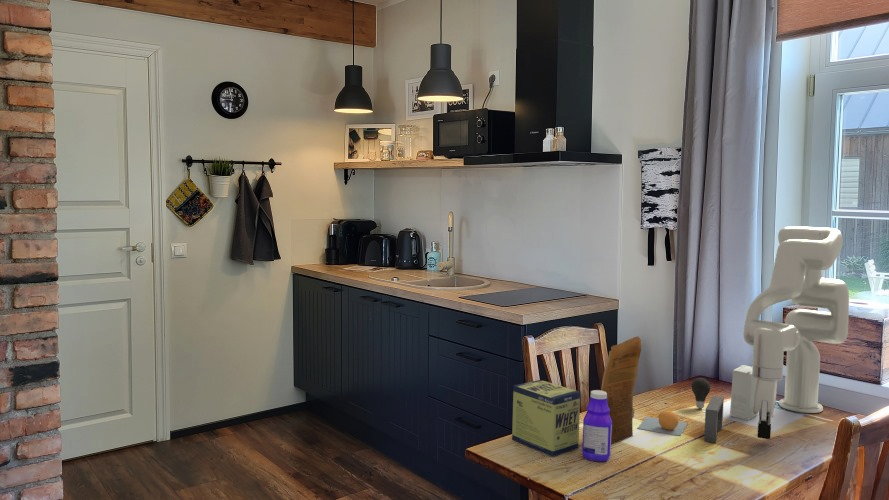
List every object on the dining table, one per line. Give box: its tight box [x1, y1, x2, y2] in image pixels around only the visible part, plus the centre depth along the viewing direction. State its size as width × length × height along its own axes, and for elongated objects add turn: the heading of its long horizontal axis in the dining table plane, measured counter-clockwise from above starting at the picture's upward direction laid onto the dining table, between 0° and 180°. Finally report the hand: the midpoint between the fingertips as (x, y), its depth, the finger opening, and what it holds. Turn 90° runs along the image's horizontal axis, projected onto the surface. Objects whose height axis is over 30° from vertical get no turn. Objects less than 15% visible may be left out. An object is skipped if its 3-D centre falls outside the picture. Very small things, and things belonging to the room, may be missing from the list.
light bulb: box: [691, 377, 711, 410], centre depth 222 cm, size 6×6×10 cm
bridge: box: [703, 395, 725, 444], centre depth 198 cm, size 3×14×9 cm, turn 152°
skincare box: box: [729, 364, 758, 421], centre depth 216 cm, size 8×6×15 cm
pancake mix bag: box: [600, 335, 642, 445], centre depth 194 cm, size 7×19×28 cm, turn 133°
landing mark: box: [636, 416, 688, 437], centre depth 205 cm, size 12×12×1 cm
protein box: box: [511, 379, 581, 457], centre depth 189 cm, size 10×16×16 cm
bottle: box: [581, 389, 612, 462], centre depth 180 cm, size 7×6×17 cm
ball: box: [658, 410, 679, 430], centre depth 203 cm, size 6×6×6 cm
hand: (763, 437), depth 193 cm, fingers closed
